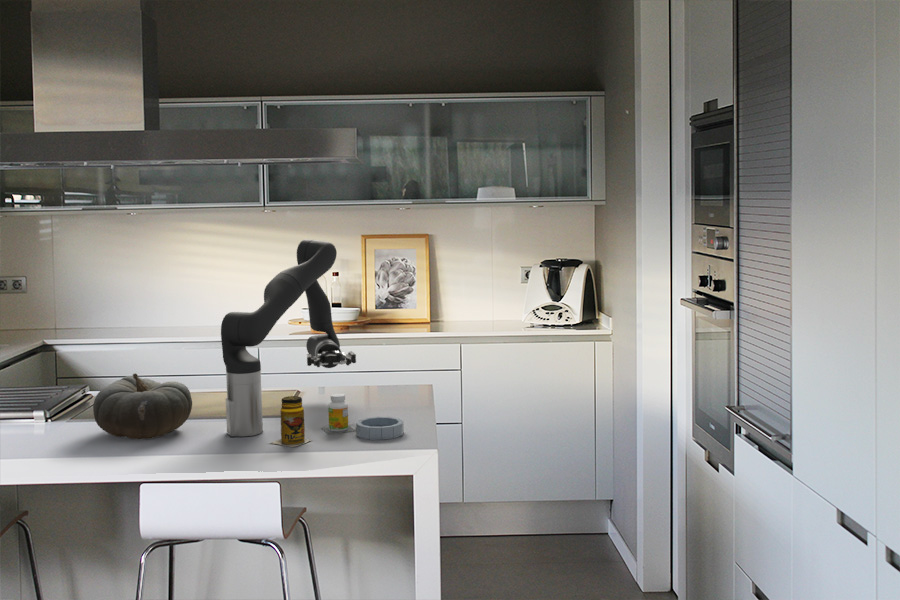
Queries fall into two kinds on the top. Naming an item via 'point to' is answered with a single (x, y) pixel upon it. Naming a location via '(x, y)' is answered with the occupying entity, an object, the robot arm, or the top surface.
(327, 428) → the mat
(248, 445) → the top surface
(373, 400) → the top surface
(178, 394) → the gourd
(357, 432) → the bowl
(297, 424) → the condiment
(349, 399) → the top surface
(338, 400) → the supplement bottle
